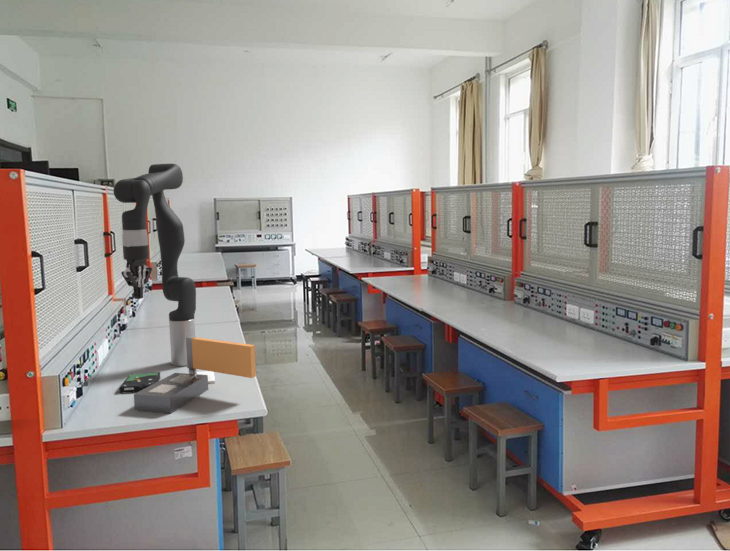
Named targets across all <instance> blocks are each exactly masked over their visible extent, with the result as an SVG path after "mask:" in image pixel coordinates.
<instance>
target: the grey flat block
mask: <svg viewBox="0 0 730 551" xmlns="http://www.w3.org/2000/svg"><path fill="white" fill-rule="evenodd" d="M206 390H207V391H209V384H208V375H200V374H189V373H182V372H173V373H172V374H169V375H168V376H166V377H164V378H163V379H159V381H158V382H156V383H154V384H152V385H151V386H149V387H147V388H145V389H143V390H141V391H139V392H134V394H133V402H134V403H133V404H134V411H135V410H137V411H136V412H147V413H150V412H152V413H161V414H169V415H171V414H172V413H174V412H176V411H177V410H179V409H180V408H182V407H184V406H185V405H187V404H188V403H190V402H192V399H193V400H195V399H196V398H198V397H199V396H201V395H203V394H204V393H205V391H206ZM207 391H206V392H207ZM203 392H204V393H203ZM200 394H201V395H200ZM197 396H198V397H197ZM195 397H196V398H195ZM194 398H195V399H194ZM189 401H190V402H189ZM187 402H188V403H187ZM186 403H187V404H186ZM184 404H185V405H184ZM183 405H184V406H183ZM181 406H182V407H181ZM178 408H179V409H178Z"/></svg>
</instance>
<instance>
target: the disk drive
mask: <svg viewBox="0 0 730 551" xmlns="http://www.w3.org/2000/svg"><path fill="white" fill-rule="evenodd" d="M160 380H161V372H160V371H159V372H143V373H131V374H129V375H128V376H127V377H126V378H125V380H124V381H123V383H121V385H119V393H120V392H132V393H137V392H139V391H141V390H143V389H145V388H147V387H149V386H151V385H152V384H154V383H156V382H158V381H160Z"/></svg>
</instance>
